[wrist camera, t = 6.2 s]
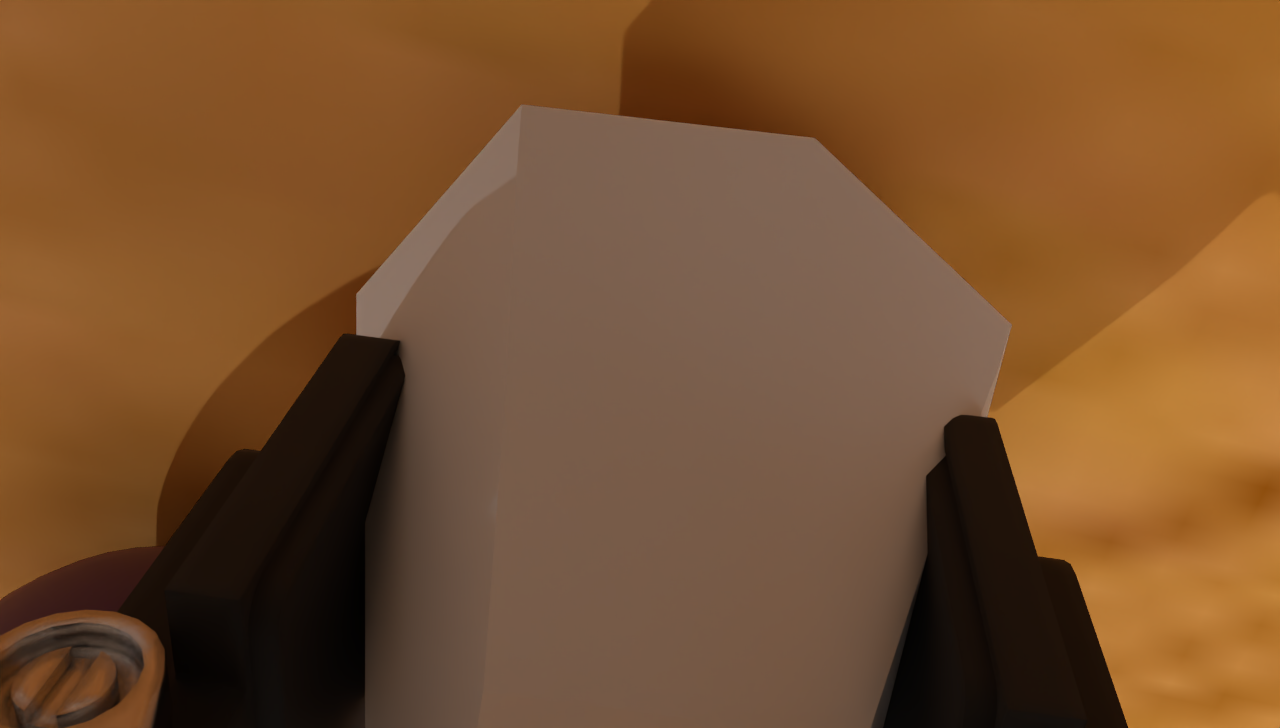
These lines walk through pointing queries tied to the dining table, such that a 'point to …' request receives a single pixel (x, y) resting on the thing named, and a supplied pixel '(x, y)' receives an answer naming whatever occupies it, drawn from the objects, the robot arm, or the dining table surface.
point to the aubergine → (79, 587)
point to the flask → (658, 434)
